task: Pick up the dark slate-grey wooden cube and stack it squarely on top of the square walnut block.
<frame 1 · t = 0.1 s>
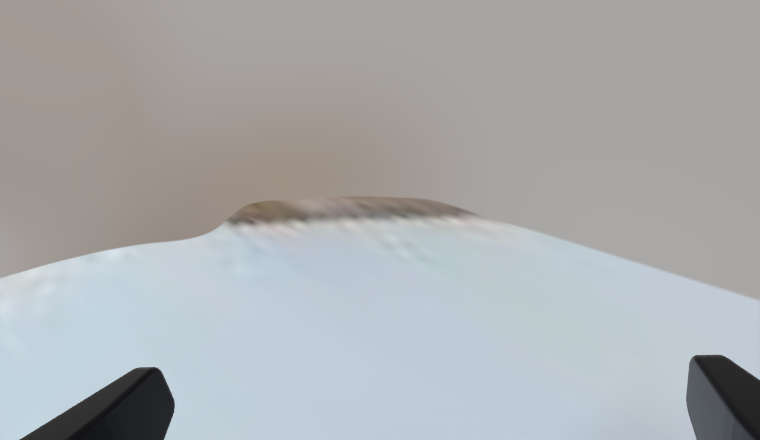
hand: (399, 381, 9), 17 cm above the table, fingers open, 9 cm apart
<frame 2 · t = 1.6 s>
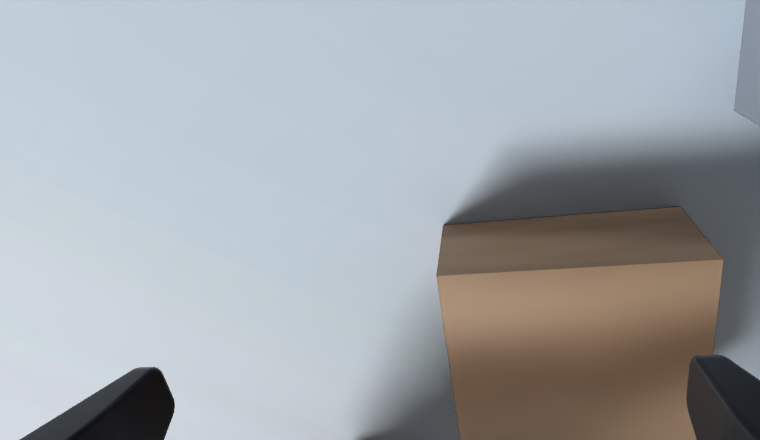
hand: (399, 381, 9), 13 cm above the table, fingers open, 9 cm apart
walnut block: (559, 310, 23), on the table
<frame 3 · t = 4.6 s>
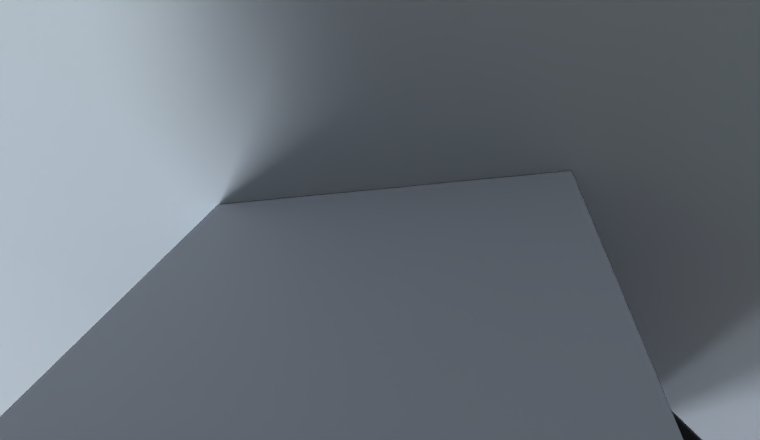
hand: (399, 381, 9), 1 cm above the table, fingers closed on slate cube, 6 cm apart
slate cube: (408, 334, 10), on the table, touching gripper
when the fingers open (7 cm above the table, at t = 9.4 s): slate cube drops 1 cm, resting on walnut block.
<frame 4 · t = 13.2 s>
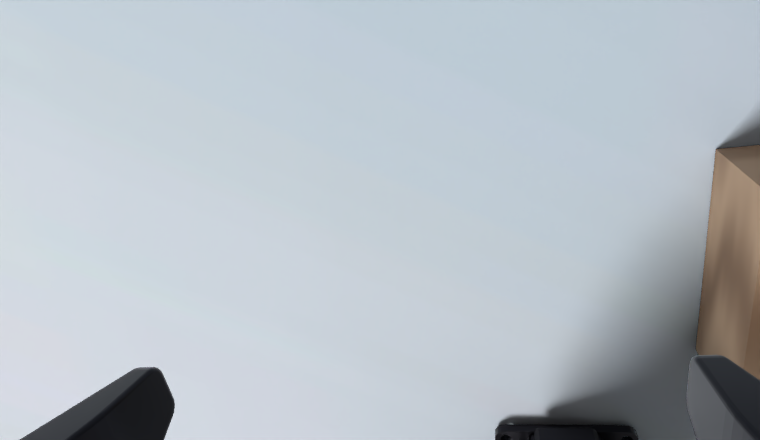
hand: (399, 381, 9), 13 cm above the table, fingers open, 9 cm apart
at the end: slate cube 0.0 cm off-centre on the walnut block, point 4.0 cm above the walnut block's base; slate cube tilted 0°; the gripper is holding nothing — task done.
